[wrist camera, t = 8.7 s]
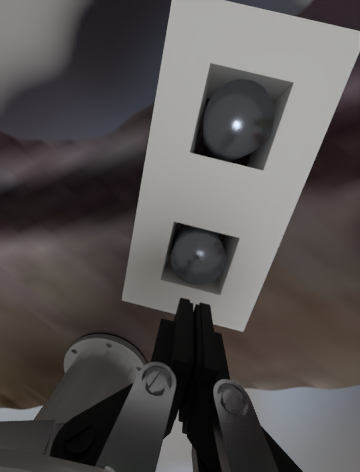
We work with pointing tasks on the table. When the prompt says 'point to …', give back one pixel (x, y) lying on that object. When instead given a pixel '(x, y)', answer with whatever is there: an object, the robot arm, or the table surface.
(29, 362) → the table surface
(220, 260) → the inner pin
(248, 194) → the pin block
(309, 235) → the table surface
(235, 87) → the outer pin
